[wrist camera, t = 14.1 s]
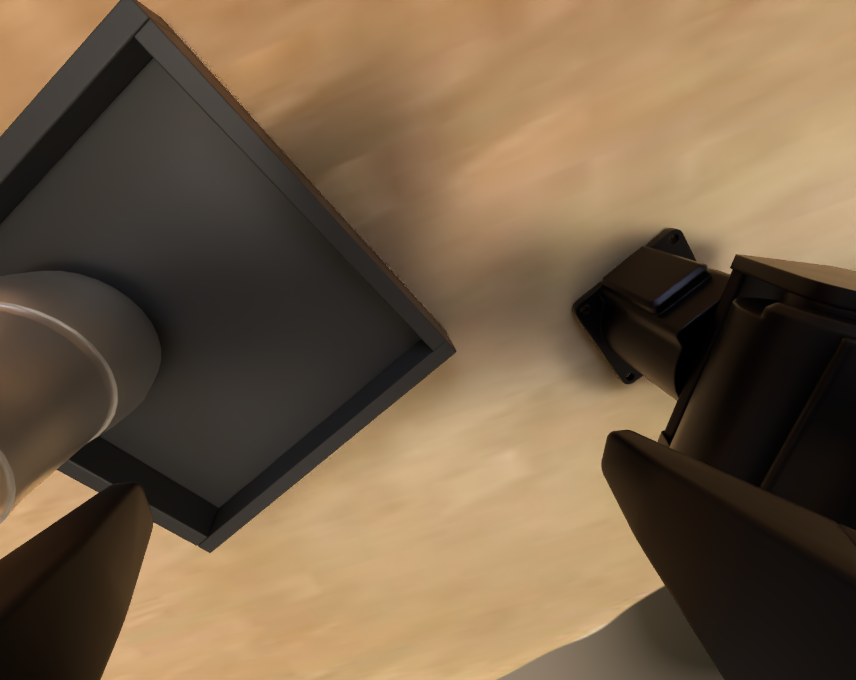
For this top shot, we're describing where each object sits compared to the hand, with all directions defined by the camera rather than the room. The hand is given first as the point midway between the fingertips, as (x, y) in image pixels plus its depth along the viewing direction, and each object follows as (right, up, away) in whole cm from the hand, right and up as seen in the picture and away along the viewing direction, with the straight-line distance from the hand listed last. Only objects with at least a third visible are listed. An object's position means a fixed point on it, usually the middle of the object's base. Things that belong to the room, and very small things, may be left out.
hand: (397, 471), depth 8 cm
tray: (-10, +3, +11) cm, 15 cm away
